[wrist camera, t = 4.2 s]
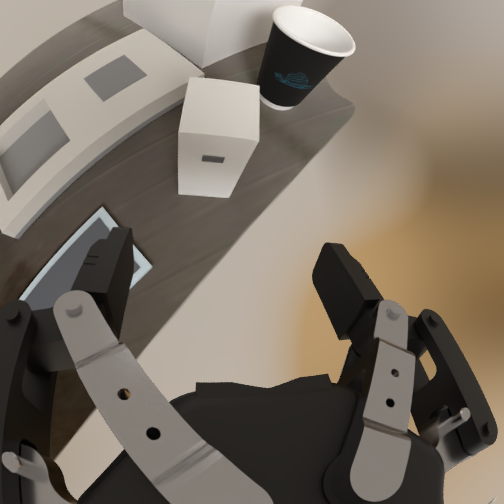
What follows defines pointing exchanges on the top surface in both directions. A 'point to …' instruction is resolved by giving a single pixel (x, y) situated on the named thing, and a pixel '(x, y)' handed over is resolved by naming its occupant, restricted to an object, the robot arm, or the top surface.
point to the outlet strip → (84, 121)
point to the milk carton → (206, 24)
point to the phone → (75, 263)
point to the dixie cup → (299, 55)
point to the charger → (216, 135)
